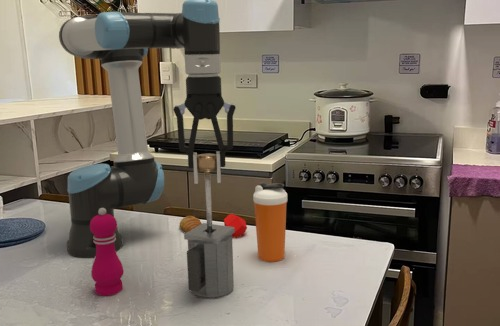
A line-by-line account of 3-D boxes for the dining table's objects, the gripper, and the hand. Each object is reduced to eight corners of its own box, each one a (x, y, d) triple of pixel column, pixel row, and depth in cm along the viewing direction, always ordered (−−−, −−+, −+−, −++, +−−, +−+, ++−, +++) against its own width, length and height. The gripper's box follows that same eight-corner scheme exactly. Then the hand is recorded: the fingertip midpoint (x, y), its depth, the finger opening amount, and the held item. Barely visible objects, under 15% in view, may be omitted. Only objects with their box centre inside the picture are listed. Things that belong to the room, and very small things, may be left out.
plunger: (188, 244, 118) (183, 157, 114) (204, 234, 125) (201, 151, 120) (216, 249, 115) (212, 159, 111) (231, 238, 121) (228, 153, 117)
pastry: (206, 234, 159) (206, 222, 159) (185, 237, 157) (184, 225, 156) (198, 225, 168) (197, 213, 167) (177, 228, 166) (177, 216, 165)
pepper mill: (108, 299, 118) (100, 214, 114) (86, 292, 122) (78, 209, 118) (131, 287, 124) (125, 205, 120) (109, 280, 128) (102, 201, 124)
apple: (252, 219, 155) (237, 204, 160) (233, 228, 151) (218, 212, 157) (251, 236, 159) (236, 221, 164) (233, 245, 155) (218, 229, 161)
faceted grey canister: (174, 299, 117) (171, 239, 114) (204, 276, 129) (202, 221, 126) (213, 307, 113) (211, 245, 110) (241, 283, 124) (239, 226, 122)
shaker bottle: (285, 264, 135) (284, 189, 131) (251, 262, 137) (249, 188, 133) (290, 251, 144) (289, 180, 140) (258, 249, 145) (256, 179, 141)
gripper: (160, 77, 108) (166, 187, 113) (245, 75, 109) (247, 184, 114) (163, 75, 115) (169, 179, 120) (243, 73, 116) (245, 176, 121)
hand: (207, 181), depth 117 cm, fingers closed on plunger, 4 cm apart
